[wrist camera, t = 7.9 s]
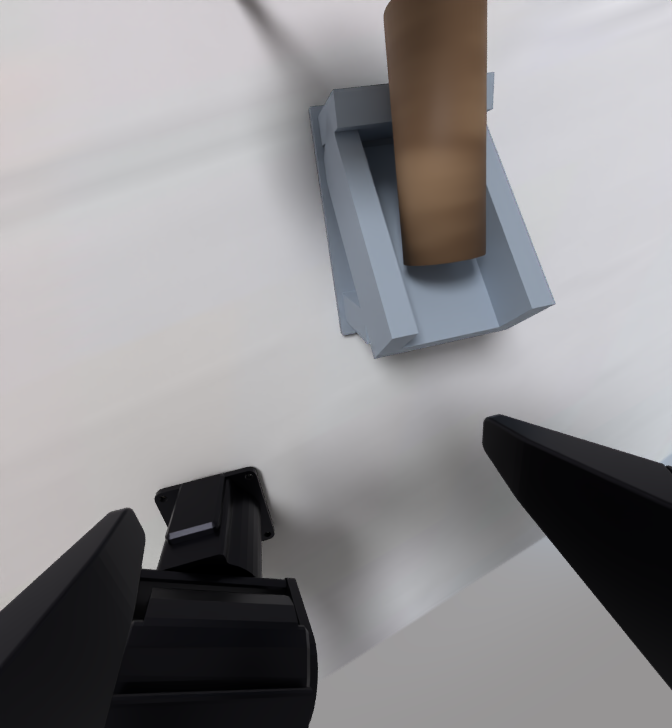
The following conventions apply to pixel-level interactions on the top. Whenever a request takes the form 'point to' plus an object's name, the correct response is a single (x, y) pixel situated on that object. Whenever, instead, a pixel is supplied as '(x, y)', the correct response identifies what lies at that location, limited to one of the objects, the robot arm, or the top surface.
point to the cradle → (384, 244)
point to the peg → (439, 126)
